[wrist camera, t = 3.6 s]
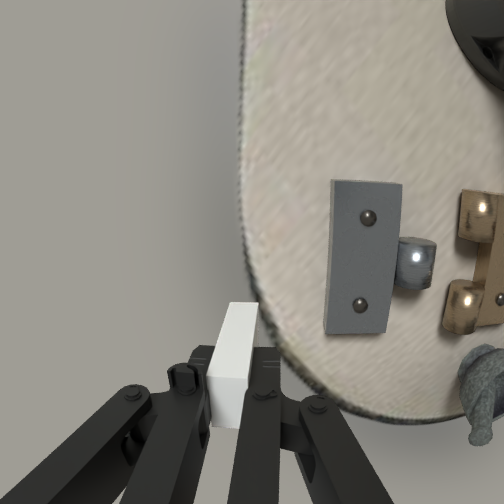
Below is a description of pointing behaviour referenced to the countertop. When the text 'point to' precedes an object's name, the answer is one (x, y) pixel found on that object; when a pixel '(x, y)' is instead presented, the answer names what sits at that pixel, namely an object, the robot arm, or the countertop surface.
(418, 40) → the countertop surface
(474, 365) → the mortar and pestle
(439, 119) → the countertop surface
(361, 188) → the loose leaf
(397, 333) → the countertop surface
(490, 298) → the fixed leaf
